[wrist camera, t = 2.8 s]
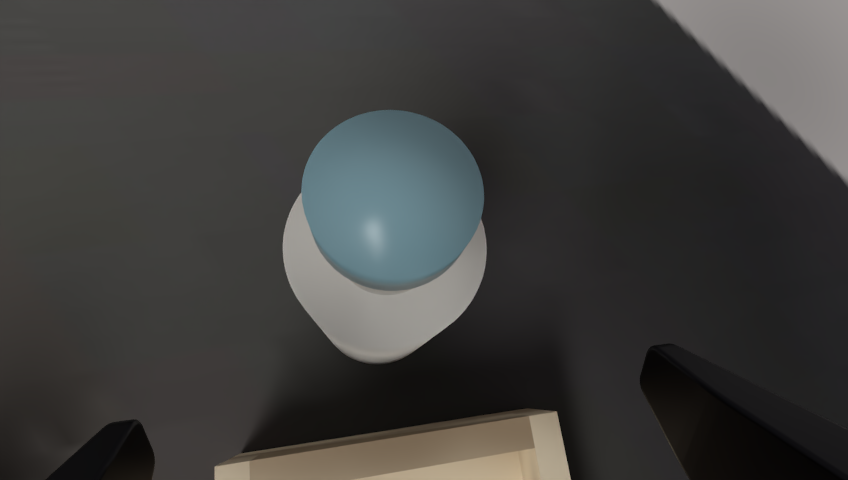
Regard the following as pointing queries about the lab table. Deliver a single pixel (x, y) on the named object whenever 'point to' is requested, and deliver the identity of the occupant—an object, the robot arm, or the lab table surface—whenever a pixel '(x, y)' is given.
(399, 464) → the oak tray
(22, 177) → the lab table surface
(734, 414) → the robot arm
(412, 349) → the reagent bottle
